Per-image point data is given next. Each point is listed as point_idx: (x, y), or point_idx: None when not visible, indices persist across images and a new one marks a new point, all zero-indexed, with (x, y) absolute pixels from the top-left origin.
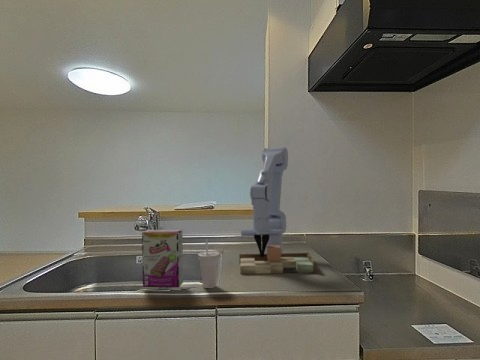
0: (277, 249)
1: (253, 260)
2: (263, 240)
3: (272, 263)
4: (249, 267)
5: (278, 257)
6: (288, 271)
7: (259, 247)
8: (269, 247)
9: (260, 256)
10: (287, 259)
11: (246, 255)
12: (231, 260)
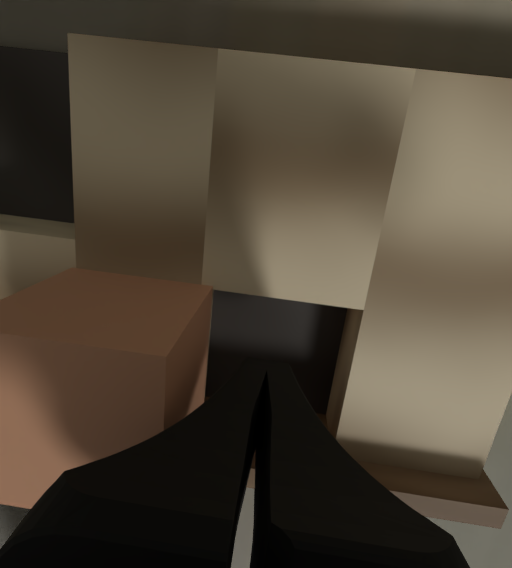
0: (20, 321)
1: (371, 338)
2: (213, 489)
3: (180, 160)
4: (489, 79)
5: (78, 280)
6: (51, 87)
7: (307, 422)
8: (134, 391)
9: (287, 364)
10: None
11: (421, 486)
12: (491, 555)
